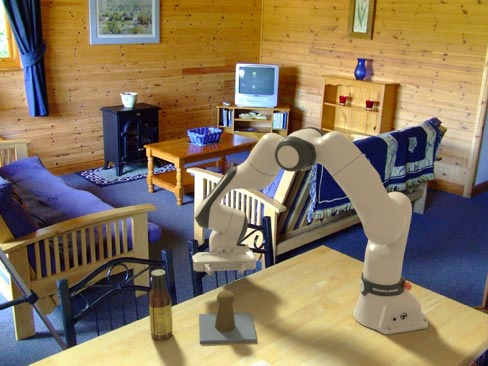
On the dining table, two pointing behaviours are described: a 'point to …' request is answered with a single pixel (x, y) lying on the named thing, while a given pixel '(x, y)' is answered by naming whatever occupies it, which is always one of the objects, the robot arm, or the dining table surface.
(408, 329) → the robot arm
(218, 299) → the cork
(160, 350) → the dining table surface
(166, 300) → the sauce bottle
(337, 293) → the dining table surface
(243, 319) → the tile
